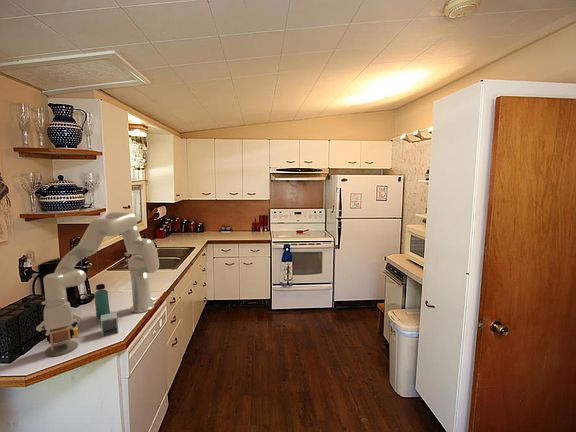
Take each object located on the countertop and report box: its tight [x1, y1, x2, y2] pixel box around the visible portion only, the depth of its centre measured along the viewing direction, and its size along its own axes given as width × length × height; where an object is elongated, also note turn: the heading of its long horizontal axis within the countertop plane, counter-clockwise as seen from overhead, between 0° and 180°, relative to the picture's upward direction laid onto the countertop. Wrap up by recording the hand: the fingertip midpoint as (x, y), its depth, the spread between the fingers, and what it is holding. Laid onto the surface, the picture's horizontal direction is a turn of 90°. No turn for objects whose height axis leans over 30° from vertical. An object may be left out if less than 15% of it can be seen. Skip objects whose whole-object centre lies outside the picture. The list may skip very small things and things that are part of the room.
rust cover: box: [50, 326, 72, 350], centre depth 141 cm, size 7×7×8 cm
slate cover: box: [100, 312, 119, 337], centre depth 157 cm, size 7×7×8 cm
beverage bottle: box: [94, 283, 111, 321], centre depth 168 cm, size 6×7×20 cm
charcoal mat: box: [44, 340, 79, 358], centre depth 141 cm, size 12×12×1 cm
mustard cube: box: [72, 325, 79, 339], centre depth 153 cm, size 4×4×4 cm
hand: (60, 339), depth 141 cm, fingers closed on rust cover, 7 cm apart
